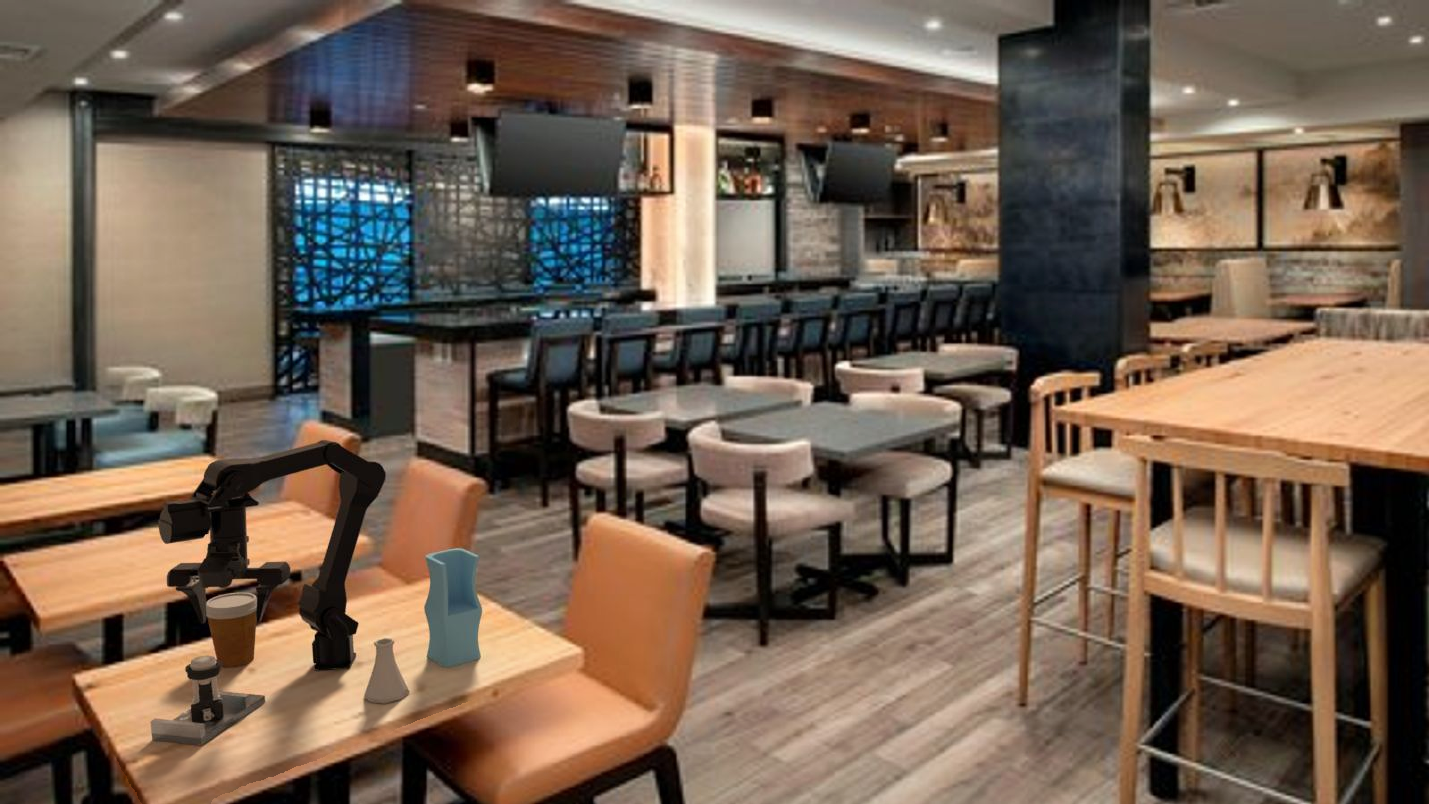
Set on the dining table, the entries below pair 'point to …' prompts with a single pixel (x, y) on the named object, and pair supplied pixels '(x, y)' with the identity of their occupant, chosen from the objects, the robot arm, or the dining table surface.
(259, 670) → the dining table surface
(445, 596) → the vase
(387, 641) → the flask
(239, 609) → the disposable coffee cup
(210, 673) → the push button
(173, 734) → the bracket
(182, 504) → the robot arm
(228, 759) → the dining table surface
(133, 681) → the dining table surface
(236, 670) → the dining table surface
